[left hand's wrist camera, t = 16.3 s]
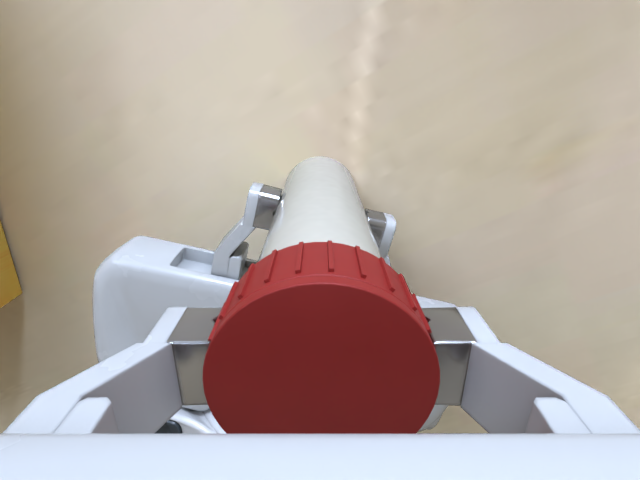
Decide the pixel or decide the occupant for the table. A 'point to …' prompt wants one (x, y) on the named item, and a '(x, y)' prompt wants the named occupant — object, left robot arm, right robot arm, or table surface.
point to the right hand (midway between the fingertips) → (323, 201)
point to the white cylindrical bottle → (320, 209)
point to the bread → (7, 273)
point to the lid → (321, 347)
